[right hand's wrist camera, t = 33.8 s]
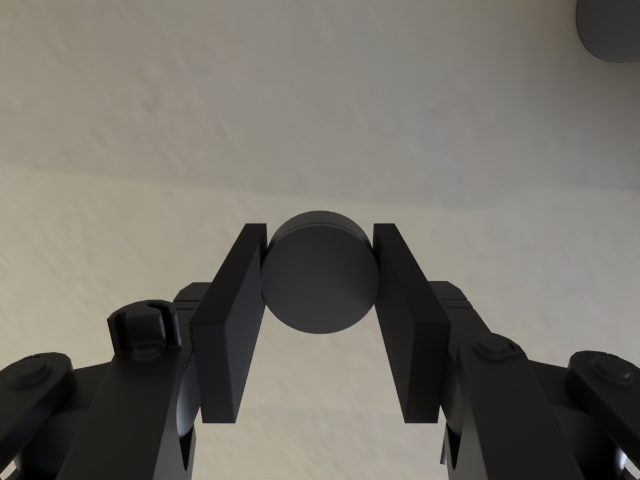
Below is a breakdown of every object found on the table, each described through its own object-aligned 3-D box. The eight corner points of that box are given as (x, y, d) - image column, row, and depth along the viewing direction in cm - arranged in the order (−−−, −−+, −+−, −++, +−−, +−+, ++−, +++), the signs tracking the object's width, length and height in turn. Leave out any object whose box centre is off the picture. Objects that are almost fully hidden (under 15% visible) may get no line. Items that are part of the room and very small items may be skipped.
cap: (302, 324, 15) (300, 351, 14) (245, 243, 14) (235, 263, 12) (392, 278, 15) (400, 302, 13) (340, 189, 13) (343, 203, 12)
